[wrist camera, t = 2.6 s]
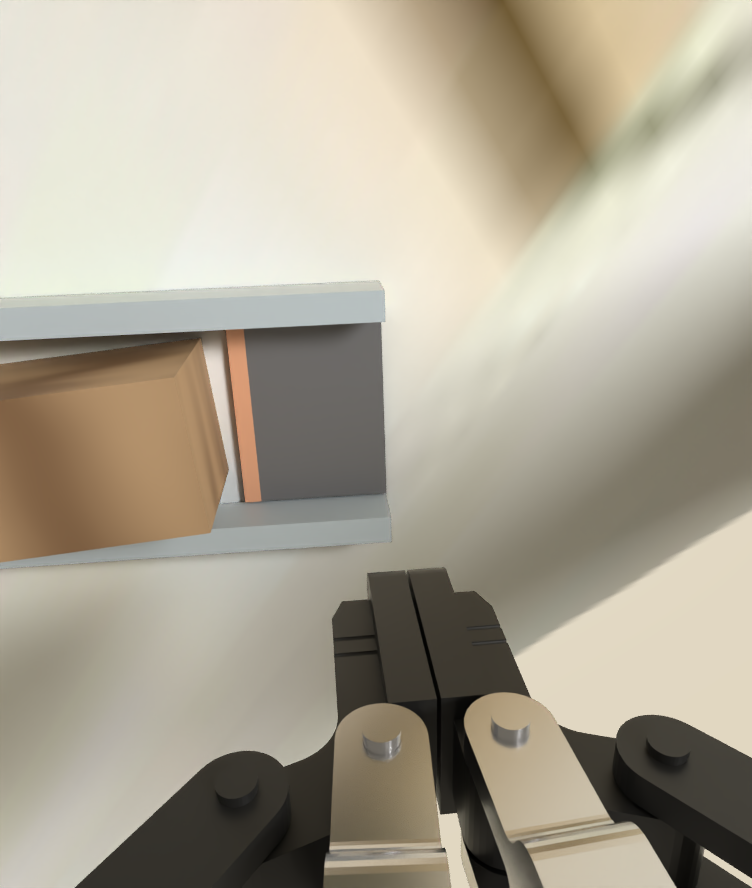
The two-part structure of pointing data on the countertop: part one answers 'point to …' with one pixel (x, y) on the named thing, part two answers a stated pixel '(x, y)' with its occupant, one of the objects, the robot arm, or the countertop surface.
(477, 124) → the countertop surface
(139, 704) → the countertop surface
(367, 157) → the countertop surface
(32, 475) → the walnut block
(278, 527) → the guide channel
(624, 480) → the countertop surface
